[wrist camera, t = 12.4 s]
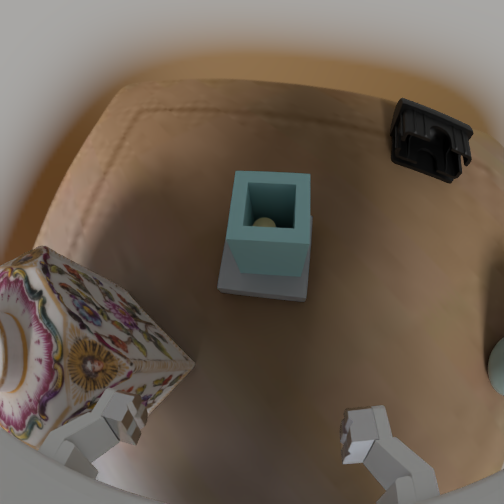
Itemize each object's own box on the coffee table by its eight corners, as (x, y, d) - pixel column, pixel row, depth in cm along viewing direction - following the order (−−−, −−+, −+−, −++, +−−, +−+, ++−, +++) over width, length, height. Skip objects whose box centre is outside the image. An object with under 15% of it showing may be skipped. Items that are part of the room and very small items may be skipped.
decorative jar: (200, 365, 26) (85, 370, 9) (130, 438, 24) (1, 484, 7) (123, 284, 29) (0, 208, 13) (65, 356, 27) (-65, 332, 10)
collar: (300, 276, 26) (309, 243, 19) (240, 272, 27) (225, 239, 19) (302, 221, 28) (310, 173, 20) (246, 218, 28) (235, 170, 21)
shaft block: (304, 302, 27) (312, 284, 21) (221, 292, 28) (203, 272, 22) (310, 224, 30) (318, 188, 23) (234, 217, 31) (222, 180, 24)
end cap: (450, 147, 32) (470, 116, 26) (454, 186, 30) (478, 156, 24) (389, 124, 34) (402, 88, 28) (387, 161, 32) (403, 124, 26)
